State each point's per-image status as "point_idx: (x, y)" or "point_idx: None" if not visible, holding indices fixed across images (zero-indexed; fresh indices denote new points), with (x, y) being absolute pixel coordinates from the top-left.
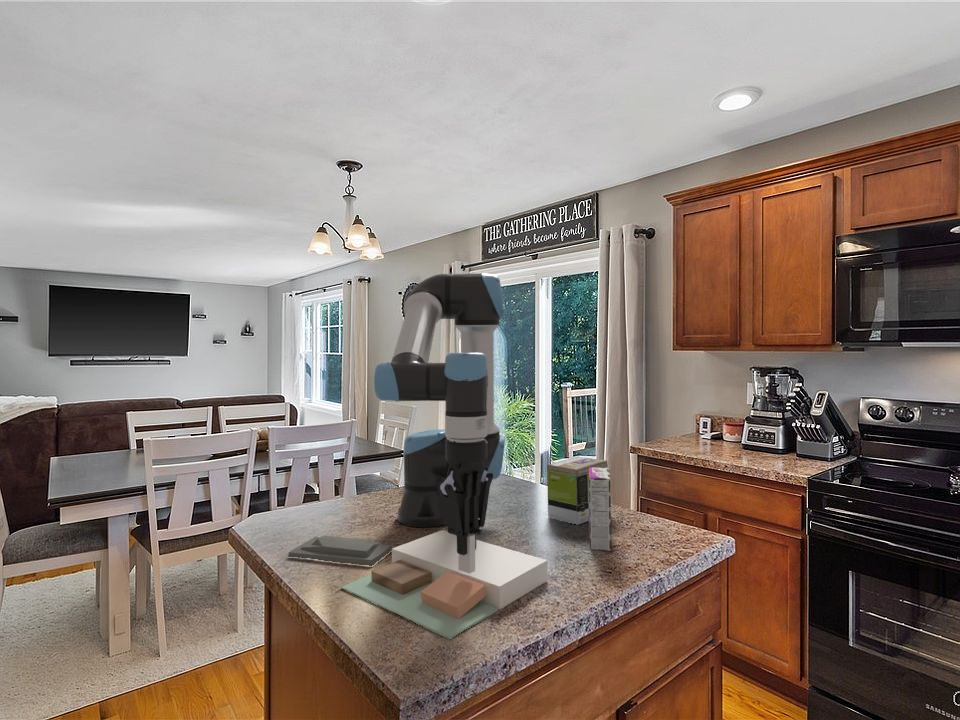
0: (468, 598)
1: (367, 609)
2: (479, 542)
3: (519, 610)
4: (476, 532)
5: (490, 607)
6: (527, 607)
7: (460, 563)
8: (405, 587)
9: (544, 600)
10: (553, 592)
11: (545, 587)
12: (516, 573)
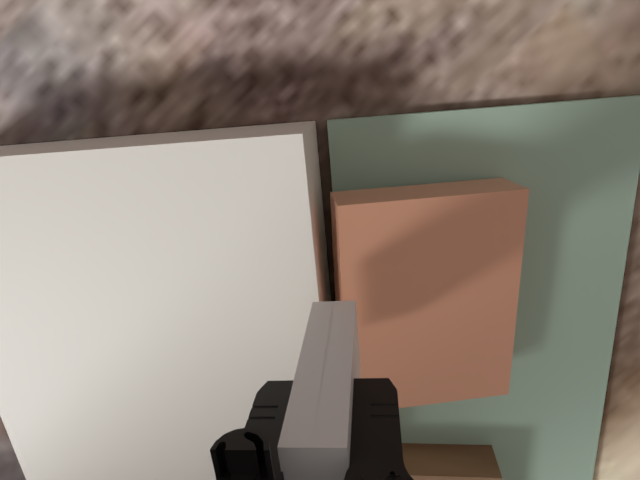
0: (455, 195)
1: (630, 459)
2: None
3: (259, 53)
4: (269, 453)
5: (342, 150)
6: (215, 45)
7: (358, 377)
8: (482, 462)
9: (113, 33)
10: (31, 54)
11: (29, 113)
12: (130, 175)
